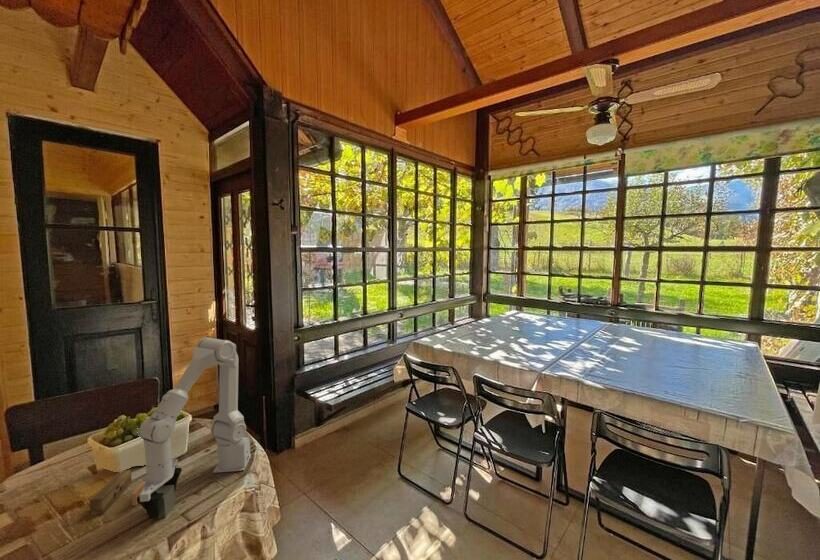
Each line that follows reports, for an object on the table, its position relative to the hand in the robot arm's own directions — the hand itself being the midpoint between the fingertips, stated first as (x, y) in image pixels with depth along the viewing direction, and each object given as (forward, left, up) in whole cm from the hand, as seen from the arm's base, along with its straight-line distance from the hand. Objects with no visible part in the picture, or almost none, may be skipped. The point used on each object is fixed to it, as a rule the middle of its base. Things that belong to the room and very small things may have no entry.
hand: (162, 506), depth 97 cm
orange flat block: (+9, -7, -1) cm, 11 cm away
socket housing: (+17, -7, -1) cm, 18 cm away
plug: (0, 0, -2) cm, 2 cm away
